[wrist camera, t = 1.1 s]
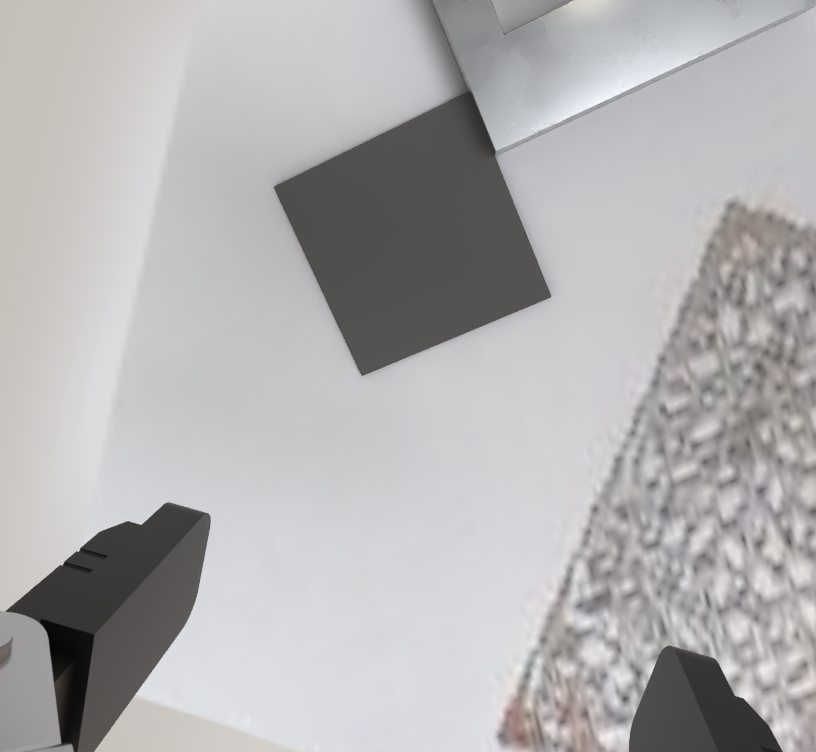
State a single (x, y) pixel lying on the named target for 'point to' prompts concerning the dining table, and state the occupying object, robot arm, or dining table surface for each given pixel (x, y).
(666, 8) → the block
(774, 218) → the dining table surface
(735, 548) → the dining table surface
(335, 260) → the mat
